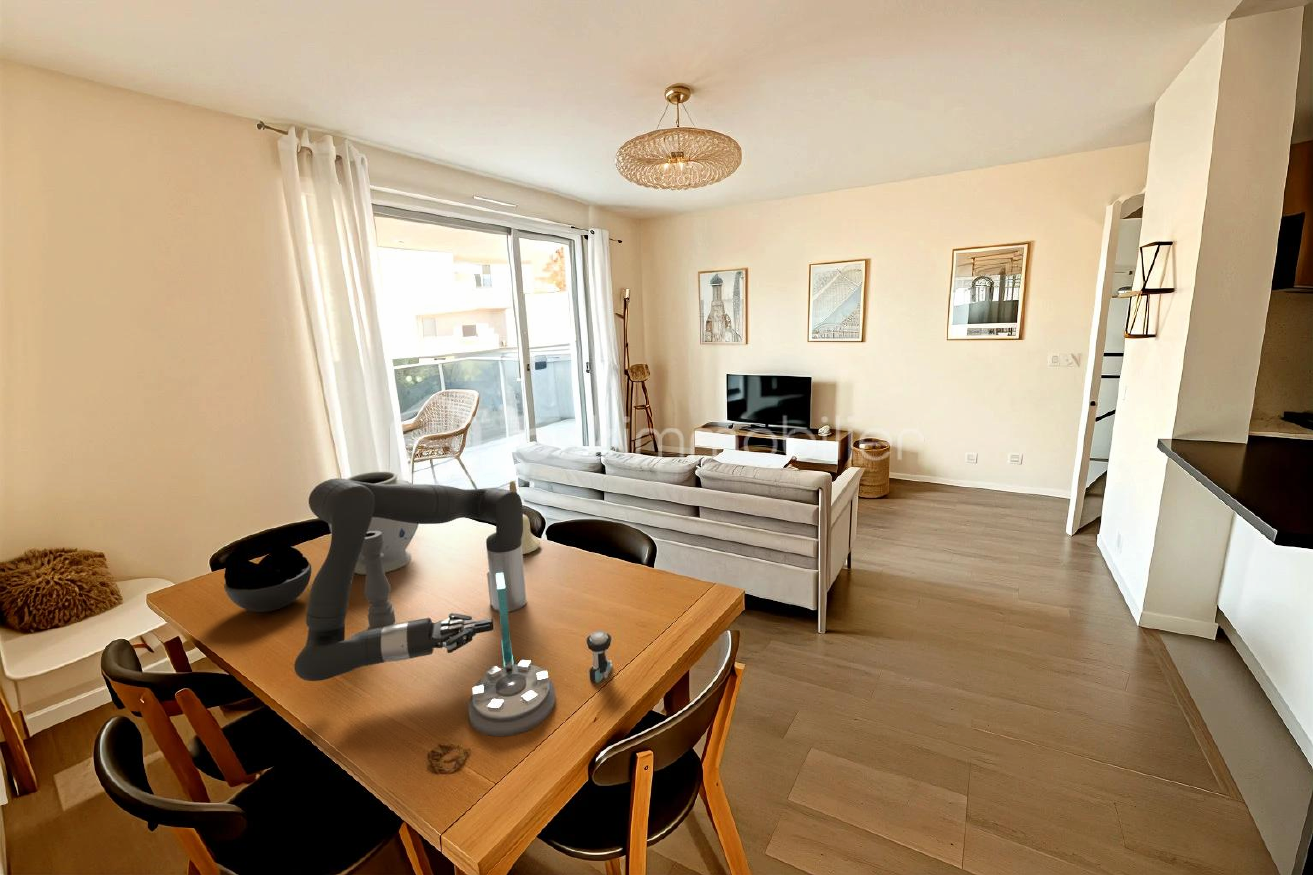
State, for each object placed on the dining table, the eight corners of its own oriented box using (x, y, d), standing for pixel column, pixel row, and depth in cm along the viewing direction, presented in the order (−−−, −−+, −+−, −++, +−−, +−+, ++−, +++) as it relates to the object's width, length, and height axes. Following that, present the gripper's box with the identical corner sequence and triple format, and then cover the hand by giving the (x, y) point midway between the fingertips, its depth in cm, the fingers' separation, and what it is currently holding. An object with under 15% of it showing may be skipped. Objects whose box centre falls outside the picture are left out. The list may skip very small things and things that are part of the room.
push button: (602, 662, 123) (600, 623, 121) (621, 670, 120) (619, 629, 118) (583, 679, 117) (581, 637, 115) (603, 687, 114) (600, 644, 112)
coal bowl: (332, 597, 157) (321, 536, 154) (258, 632, 140) (245, 565, 136) (289, 585, 166) (278, 527, 162) (215, 617, 148) (201, 553, 144)
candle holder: (400, 619, 144) (388, 531, 139) (382, 631, 138) (368, 540, 133) (382, 616, 146) (369, 529, 141) (363, 628, 140) (349, 538, 135)
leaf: (450, 781, 92) (451, 772, 92) (420, 766, 95) (420, 757, 94) (476, 756, 98) (477, 748, 98) (447, 743, 101) (447, 735, 100)
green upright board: (554, 710, 105) (547, 622, 101) (473, 730, 100) (463, 639, 96) (538, 640, 128) (532, 567, 125) (472, 653, 124) (464, 578, 120)
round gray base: (450, 716, 107) (449, 707, 107) (514, 669, 121) (513, 661, 121) (511, 748, 98) (510, 739, 98) (572, 694, 112) (571, 686, 112)
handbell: (534, 559, 179) (529, 487, 174) (489, 560, 180) (482, 488, 175) (544, 540, 194) (539, 474, 189) (503, 541, 195) (496, 475, 190)
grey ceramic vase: (442, 557, 183) (432, 472, 177) (365, 590, 161) (351, 494, 155) (396, 542, 197) (385, 463, 191) (319, 570, 175) (304, 482, 169)
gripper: (401, 640, 107) (492, 623, 112) (409, 608, 119) (491, 594, 124) (406, 674, 108) (495, 656, 113) (413, 639, 121) (494, 624, 126)
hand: (493, 624), depth 119 cm, fingers closed
